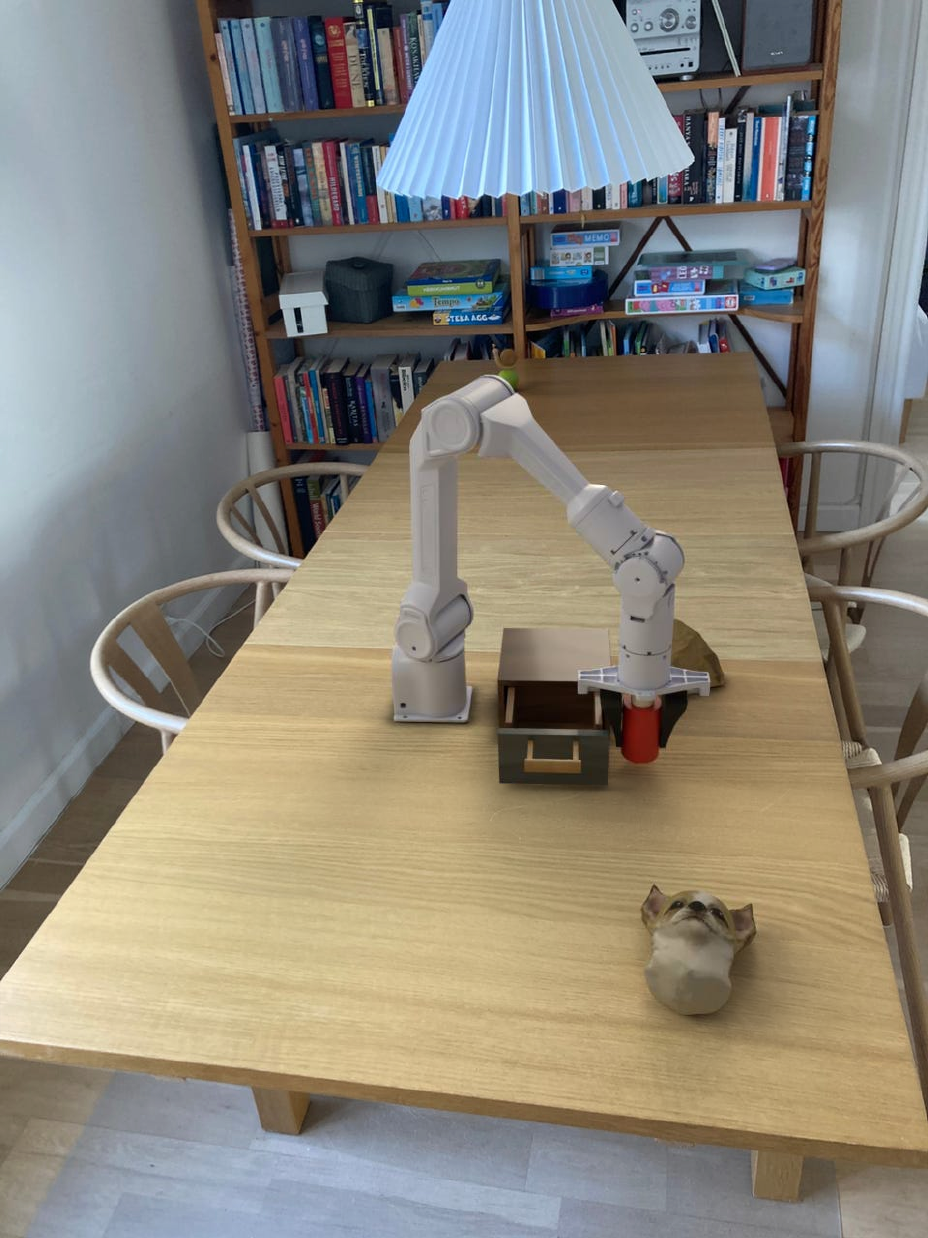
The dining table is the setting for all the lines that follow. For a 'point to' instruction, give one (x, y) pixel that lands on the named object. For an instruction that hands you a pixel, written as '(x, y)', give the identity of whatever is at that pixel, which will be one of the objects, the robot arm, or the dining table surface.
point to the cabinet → (549, 659)
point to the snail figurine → (507, 365)
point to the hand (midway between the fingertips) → (639, 742)
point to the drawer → (553, 738)
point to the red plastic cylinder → (641, 729)
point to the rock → (694, 654)
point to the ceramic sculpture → (693, 948)
